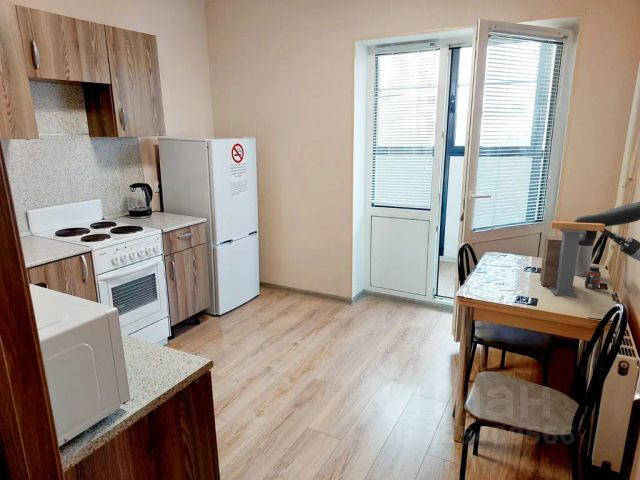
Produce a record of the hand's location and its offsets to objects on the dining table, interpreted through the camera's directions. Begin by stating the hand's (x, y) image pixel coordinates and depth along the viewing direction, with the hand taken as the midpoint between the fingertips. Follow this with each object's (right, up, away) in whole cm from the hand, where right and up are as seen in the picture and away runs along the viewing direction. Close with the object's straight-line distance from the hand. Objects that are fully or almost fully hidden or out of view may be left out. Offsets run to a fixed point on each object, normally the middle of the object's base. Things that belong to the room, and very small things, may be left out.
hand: (603, 230), depth 200 cm
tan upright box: (-10, -28, +24) cm, 38 cm away
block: (-10, +1, +3) cm, 11 cm away
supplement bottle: (+6, -29, +18) cm, 35 cm away
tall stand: (-12, -31, +12) cm, 35 cm away
